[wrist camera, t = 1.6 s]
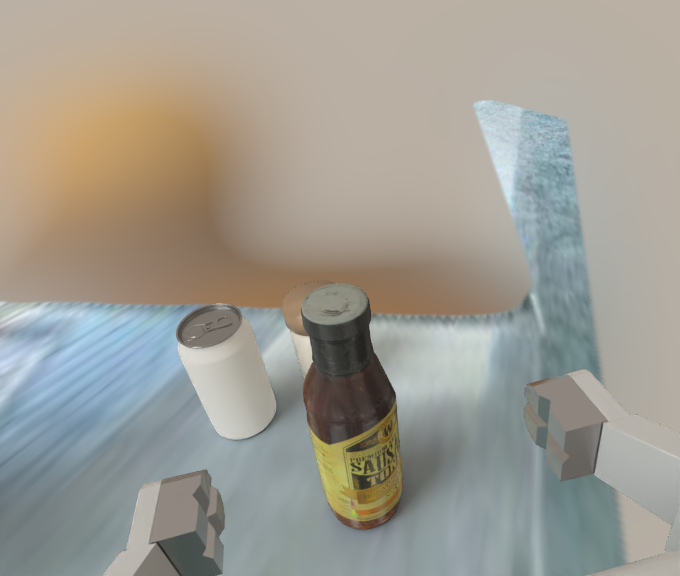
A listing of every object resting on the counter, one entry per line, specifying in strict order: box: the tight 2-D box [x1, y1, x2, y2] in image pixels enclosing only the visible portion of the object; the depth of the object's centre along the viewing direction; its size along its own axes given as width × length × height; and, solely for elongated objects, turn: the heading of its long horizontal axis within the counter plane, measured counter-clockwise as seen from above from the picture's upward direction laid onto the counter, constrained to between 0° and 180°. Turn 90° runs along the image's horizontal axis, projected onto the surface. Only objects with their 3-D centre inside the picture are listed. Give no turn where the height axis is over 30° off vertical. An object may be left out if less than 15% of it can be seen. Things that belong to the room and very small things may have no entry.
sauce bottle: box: [301, 283, 402, 529], centre depth 33 cm, size 6×6×20 cm
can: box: [176, 303, 276, 439], centre depth 44 cm, size 6×6×12 cm
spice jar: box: [281, 281, 336, 381], centre depth 46 cm, size 6×6×11 cm
